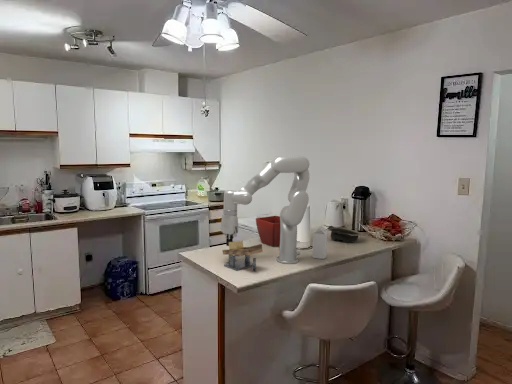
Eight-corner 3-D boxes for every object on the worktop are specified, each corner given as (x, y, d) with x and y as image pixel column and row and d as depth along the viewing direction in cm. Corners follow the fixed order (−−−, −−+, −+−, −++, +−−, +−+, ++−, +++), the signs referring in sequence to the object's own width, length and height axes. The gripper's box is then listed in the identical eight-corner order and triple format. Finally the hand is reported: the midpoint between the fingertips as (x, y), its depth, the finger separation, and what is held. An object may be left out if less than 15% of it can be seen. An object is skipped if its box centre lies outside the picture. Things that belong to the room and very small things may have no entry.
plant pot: (272, 249, 228) (273, 223, 226) (254, 242, 243) (254, 218, 241) (294, 244, 240) (295, 220, 238) (275, 238, 255) (276, 215, 253)
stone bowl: (320, 239, 255) (321, 226, 254) (337, 236, 274) (338, 224, 274) (352, 246, 239) (354, 232, 239) (368, 242, 258) (369, 229, 258)
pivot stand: (219, 264, 195) (219, 252, 194) (238, 259, 205) (238, 247, 204) (245, 274, 181) (245, 261, 180) (264, 268, 191) (265, 256, 190)
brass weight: (229, 251, 195) (228, 242, 195) (236, 249, 198) (235, 240, 199) (236, 251, 191) (235, 241, 191) (243, 249, 194) (242, 240, 194)
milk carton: (312, 257, 212) (313, 226, 210) (314, 254, 218) (316, 224, 216) (324, 259, 209) (325, 227, 207) (326, 256, 216) (327, 225, 214)
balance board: (222, 254, 196) (222, 247, 196) (235, 251, 203) (234, 244, 203) (250, 255, 181) (249, 247, 181) (262, 251, 187) (261, 244, 187)
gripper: (216, 211, 199) (215, 243, 201) (234, 215, 189) (233, 249, 191) (226, 210, 204) (225, 241, 207) (244, 214, 194) (243, 247, 196)
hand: (229, 245), depth 199 cm, fingers closed
